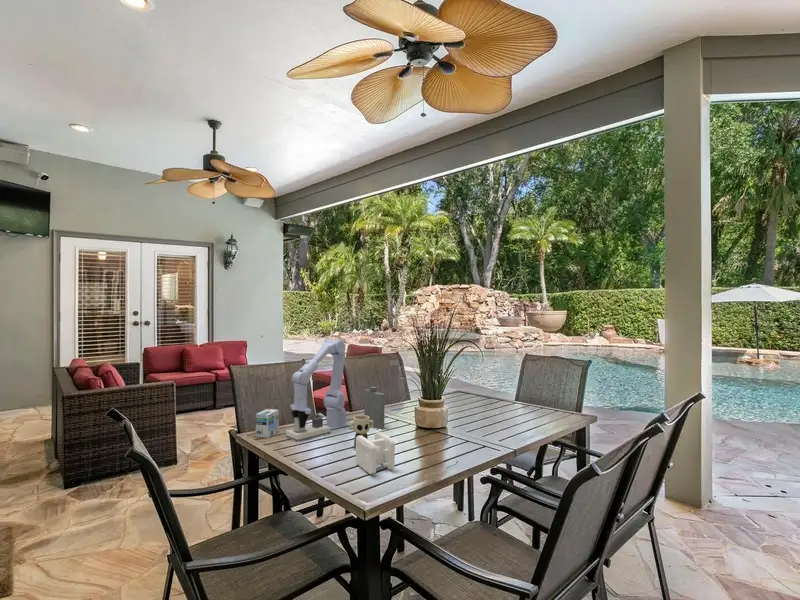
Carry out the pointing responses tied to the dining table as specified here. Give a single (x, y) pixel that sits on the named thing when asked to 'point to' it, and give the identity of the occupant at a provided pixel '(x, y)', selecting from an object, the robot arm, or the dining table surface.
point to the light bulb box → (267, 423)
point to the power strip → (307, 433)
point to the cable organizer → (375, 452)
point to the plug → (297, 425)
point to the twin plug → (317, 422)
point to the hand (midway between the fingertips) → (300, 426)
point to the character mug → (360, 426)
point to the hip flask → (374, 407)
